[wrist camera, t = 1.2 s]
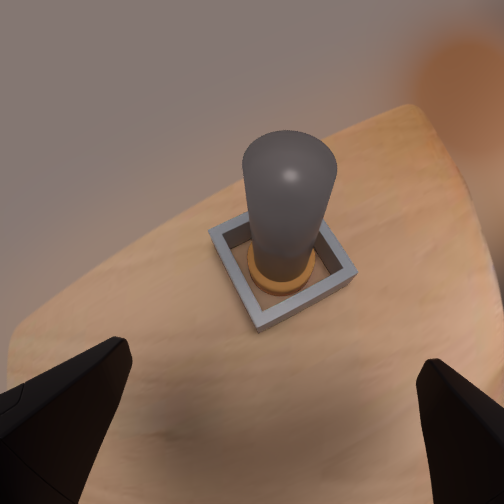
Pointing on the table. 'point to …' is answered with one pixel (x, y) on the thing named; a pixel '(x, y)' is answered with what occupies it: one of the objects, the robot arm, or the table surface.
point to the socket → (340, 276)
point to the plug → (286, 206)
